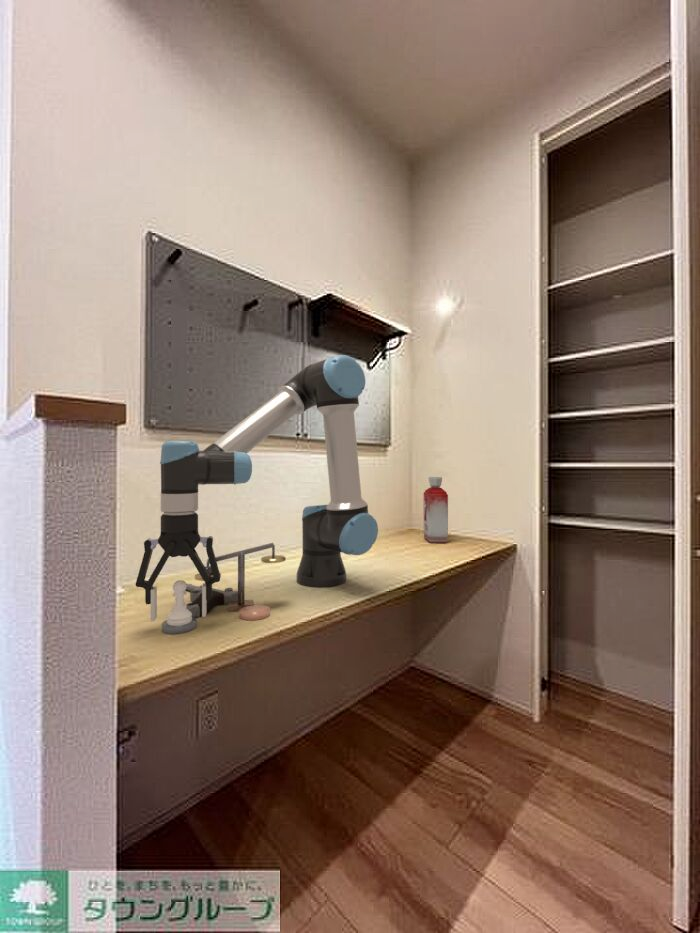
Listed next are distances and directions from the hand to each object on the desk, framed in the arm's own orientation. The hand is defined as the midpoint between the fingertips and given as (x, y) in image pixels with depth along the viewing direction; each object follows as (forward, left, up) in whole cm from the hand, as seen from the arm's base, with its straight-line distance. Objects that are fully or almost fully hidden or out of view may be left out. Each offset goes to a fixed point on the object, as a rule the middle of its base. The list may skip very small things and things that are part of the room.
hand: (179, 616), depth 92 cm
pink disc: (-16, -4, -2) cm, 17 cm away
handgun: (-1, -18, -3) cm, 19 cm away
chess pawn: (0, 0, -1) cm, 1 cm away
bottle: (-102, -85, -3) cm, 133 cm away
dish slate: (0, 0, -2) cm, 2 cm away
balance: (-13, -10, -2) cm, 17 cm away
